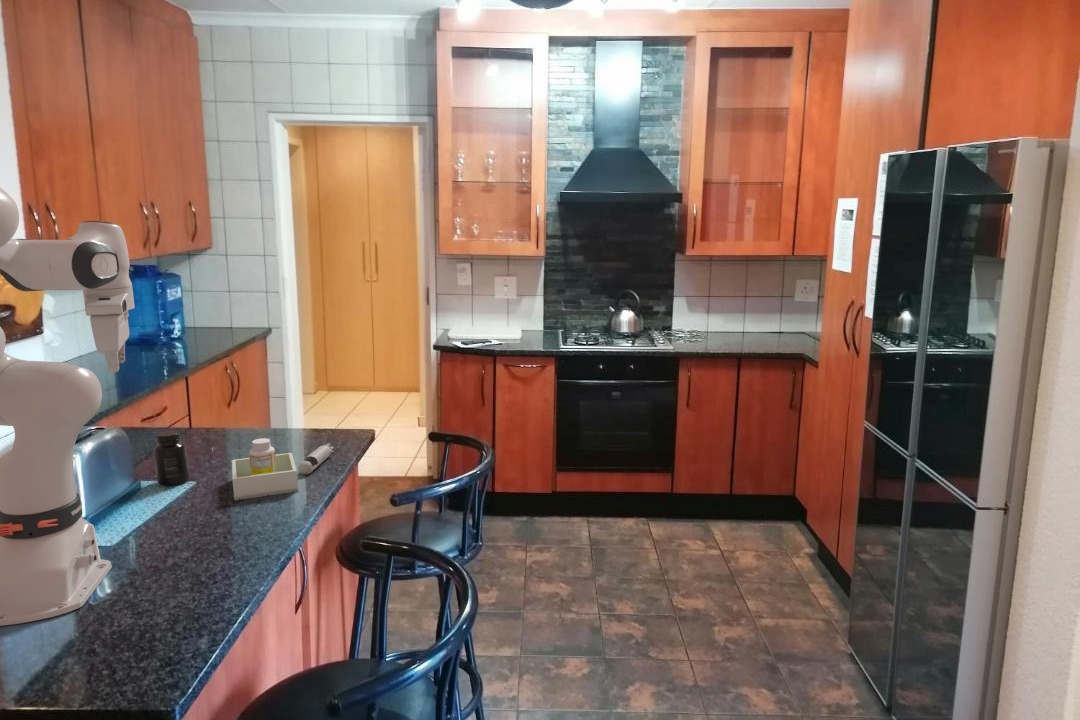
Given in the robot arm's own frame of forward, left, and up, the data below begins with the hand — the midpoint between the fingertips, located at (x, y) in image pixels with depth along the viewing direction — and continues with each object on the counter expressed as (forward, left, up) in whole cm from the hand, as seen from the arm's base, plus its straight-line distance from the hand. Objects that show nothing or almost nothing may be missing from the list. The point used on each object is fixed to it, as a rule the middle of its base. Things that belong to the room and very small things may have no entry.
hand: (117, 367), depth 154 cm
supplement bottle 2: (+2, -27, -30) cm, 41 cm away
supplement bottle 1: (+13, -7, -31) cm, 35 cm away
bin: (+2, -27, -31) cm, 41 cm away
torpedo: (+13, -40, -32) cm, 53 cm away
